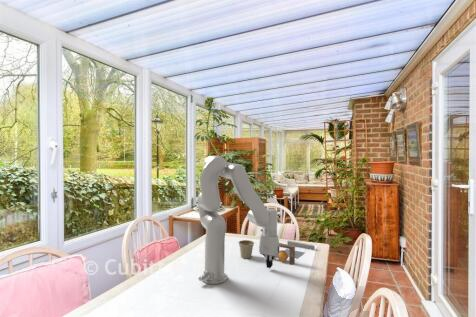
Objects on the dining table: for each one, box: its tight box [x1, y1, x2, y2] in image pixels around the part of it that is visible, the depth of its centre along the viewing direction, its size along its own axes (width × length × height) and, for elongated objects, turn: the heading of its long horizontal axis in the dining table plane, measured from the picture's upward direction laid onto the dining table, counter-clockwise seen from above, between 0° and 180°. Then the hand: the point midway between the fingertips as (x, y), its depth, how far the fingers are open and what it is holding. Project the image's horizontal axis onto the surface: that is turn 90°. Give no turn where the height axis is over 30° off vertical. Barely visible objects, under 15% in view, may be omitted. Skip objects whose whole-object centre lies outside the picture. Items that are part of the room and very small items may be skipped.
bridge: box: [269, 242, 296, 265], centre depth 161 cm, size 3×15×10 cm, turn 56°
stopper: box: [286, 240, 316, 251], centre depth 186 cm, size 2×18×2 cm, turn 56°
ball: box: [277, 249, 289, 262], centre depth 161 cm, size 6×6×6 cm
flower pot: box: [238, 239, 255, 260], centre depth 167 cm, size 9×9×9 cm
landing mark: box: [283, 248, 305, 259], centre depth 174 cm, size 12×12×1 cm
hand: (269, 266), depth 149 cm, fingers closed
